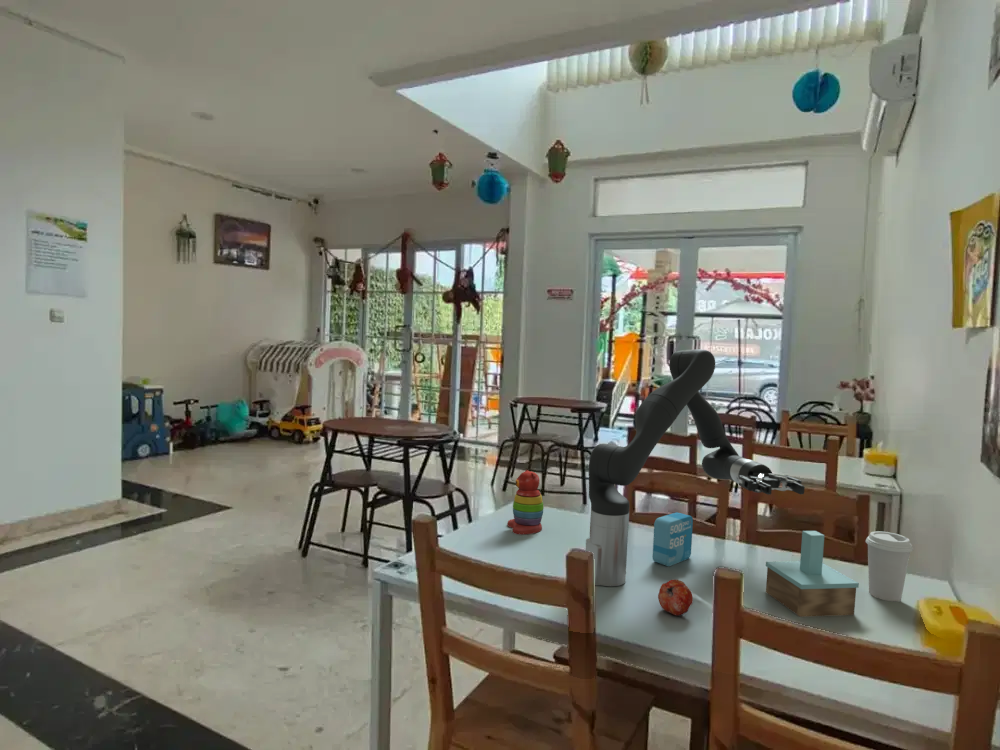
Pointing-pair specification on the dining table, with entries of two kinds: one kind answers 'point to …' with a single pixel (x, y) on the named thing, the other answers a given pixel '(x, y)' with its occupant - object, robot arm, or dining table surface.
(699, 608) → the dining table surface
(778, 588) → the box
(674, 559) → the data package
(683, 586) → the pomegranate
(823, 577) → the lid
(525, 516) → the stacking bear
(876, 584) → the coffee cup
